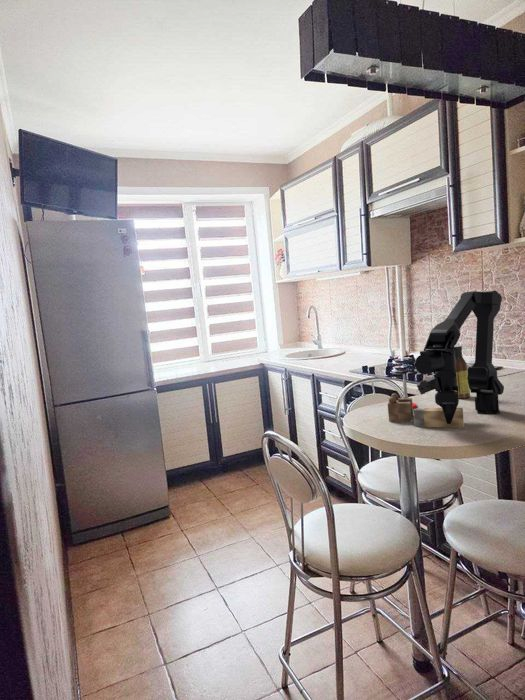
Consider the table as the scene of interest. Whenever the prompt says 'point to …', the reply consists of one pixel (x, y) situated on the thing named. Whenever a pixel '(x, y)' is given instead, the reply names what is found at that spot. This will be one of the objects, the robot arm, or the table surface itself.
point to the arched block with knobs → (400, 408)
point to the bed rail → (437, 418)
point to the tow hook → (406, 391)
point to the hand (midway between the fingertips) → (449, 419)
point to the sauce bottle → (461, 374)
